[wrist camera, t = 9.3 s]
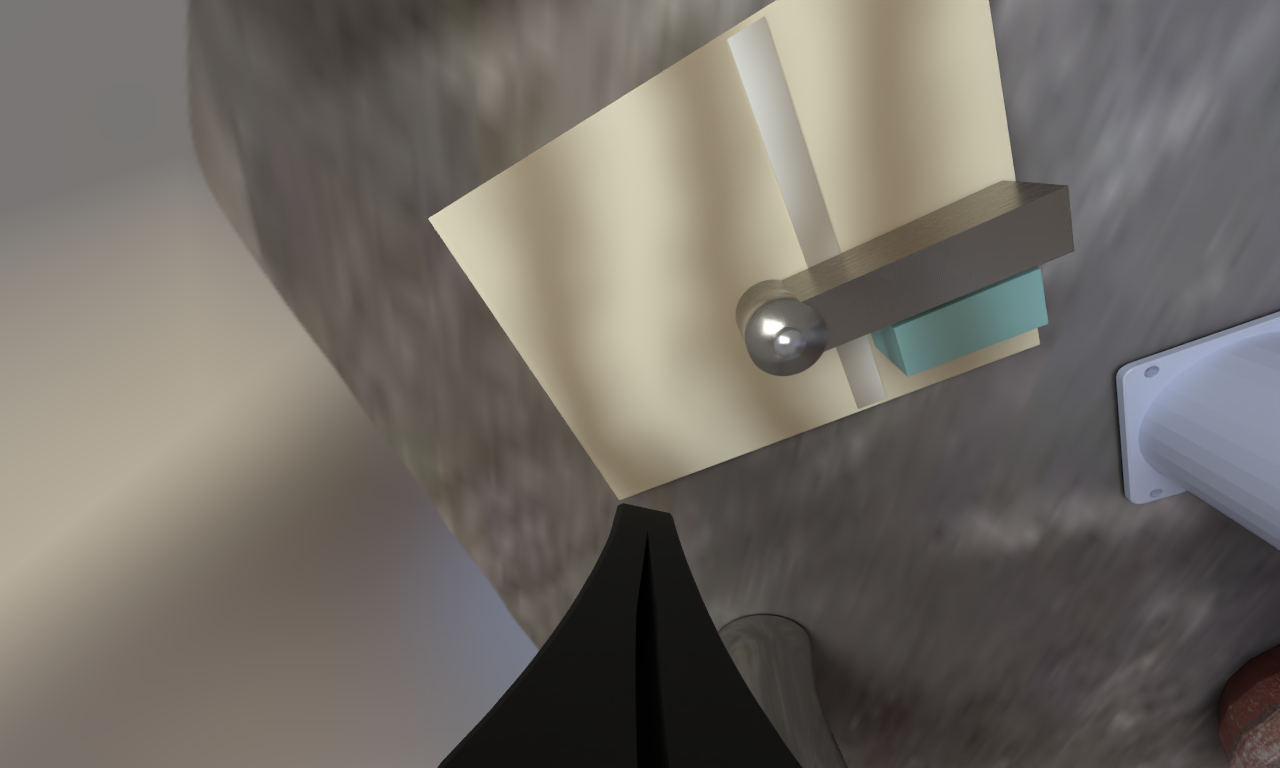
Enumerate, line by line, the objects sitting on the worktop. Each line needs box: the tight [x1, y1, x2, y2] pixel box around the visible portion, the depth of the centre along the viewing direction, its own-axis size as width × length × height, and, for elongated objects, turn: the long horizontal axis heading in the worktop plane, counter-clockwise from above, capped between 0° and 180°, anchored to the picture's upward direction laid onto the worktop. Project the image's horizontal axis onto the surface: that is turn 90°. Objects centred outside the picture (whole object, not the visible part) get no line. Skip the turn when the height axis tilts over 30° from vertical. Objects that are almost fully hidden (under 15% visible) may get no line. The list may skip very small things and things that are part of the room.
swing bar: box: [736, 180, 1074, 376], centre depth 15 cm, size 10×3×3 cm, turn 117°
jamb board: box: [428, 0, 1048, 500], centre depth 17 cm, size 19×15×4 cm
